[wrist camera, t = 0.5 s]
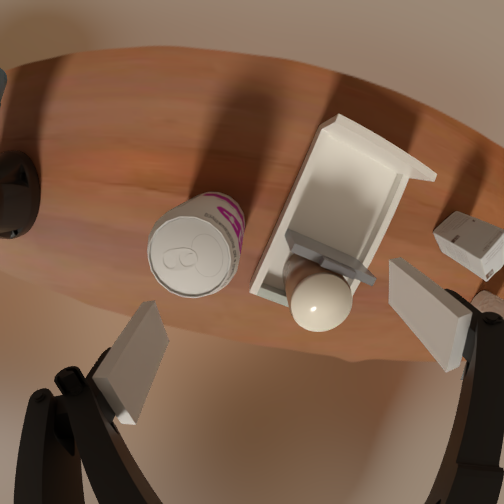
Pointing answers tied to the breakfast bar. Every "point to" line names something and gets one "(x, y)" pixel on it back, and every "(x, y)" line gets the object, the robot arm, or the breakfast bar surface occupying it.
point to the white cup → (488, 303)
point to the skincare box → (472, 243)
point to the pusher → (328, 257)
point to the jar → (315, 294)
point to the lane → (339, 199)
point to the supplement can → (197, 245)
